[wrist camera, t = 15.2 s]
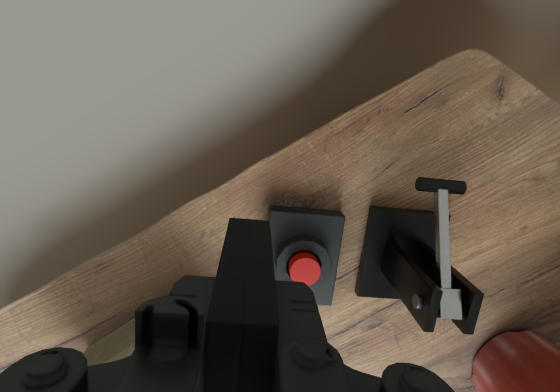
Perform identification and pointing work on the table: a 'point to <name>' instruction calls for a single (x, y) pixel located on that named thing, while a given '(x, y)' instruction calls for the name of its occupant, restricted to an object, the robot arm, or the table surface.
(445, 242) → the lever
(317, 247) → the button block
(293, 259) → the button
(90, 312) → the table surface
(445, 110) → the table surface
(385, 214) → the bracket
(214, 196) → the table surface
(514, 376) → the flower pot
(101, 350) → the tissue box
